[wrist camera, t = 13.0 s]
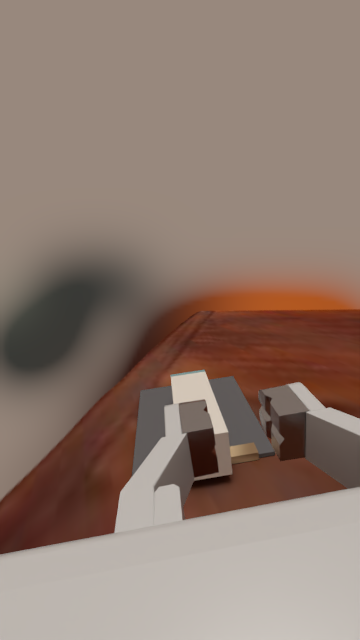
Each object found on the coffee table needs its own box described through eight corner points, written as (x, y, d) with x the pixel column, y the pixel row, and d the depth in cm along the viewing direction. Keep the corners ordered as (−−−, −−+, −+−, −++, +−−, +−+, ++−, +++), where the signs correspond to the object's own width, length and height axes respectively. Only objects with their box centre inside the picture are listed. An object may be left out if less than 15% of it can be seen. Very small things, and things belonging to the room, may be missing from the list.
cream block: (232, 474, 27) (207, 399, 40) (228, 432, 26) (204, 369, 39) (183, 482, 27) (175, 404, 40) (176, 440, 25) (170, 374, 39)
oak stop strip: (254, 449, 31) (253, 442, 31) (258, 459, 30) (258, 452, 29) (151, 466, 30) (150, 460, 30) (151, 478, 29) (150, 470, 29)
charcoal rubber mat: (233, 378, 46) (233, 376, 46) (274, 455, 30) (274, 451, 30) (141, 393, 45) (140, 390, 45) (132, 479, 29) (132, 475, 29)
